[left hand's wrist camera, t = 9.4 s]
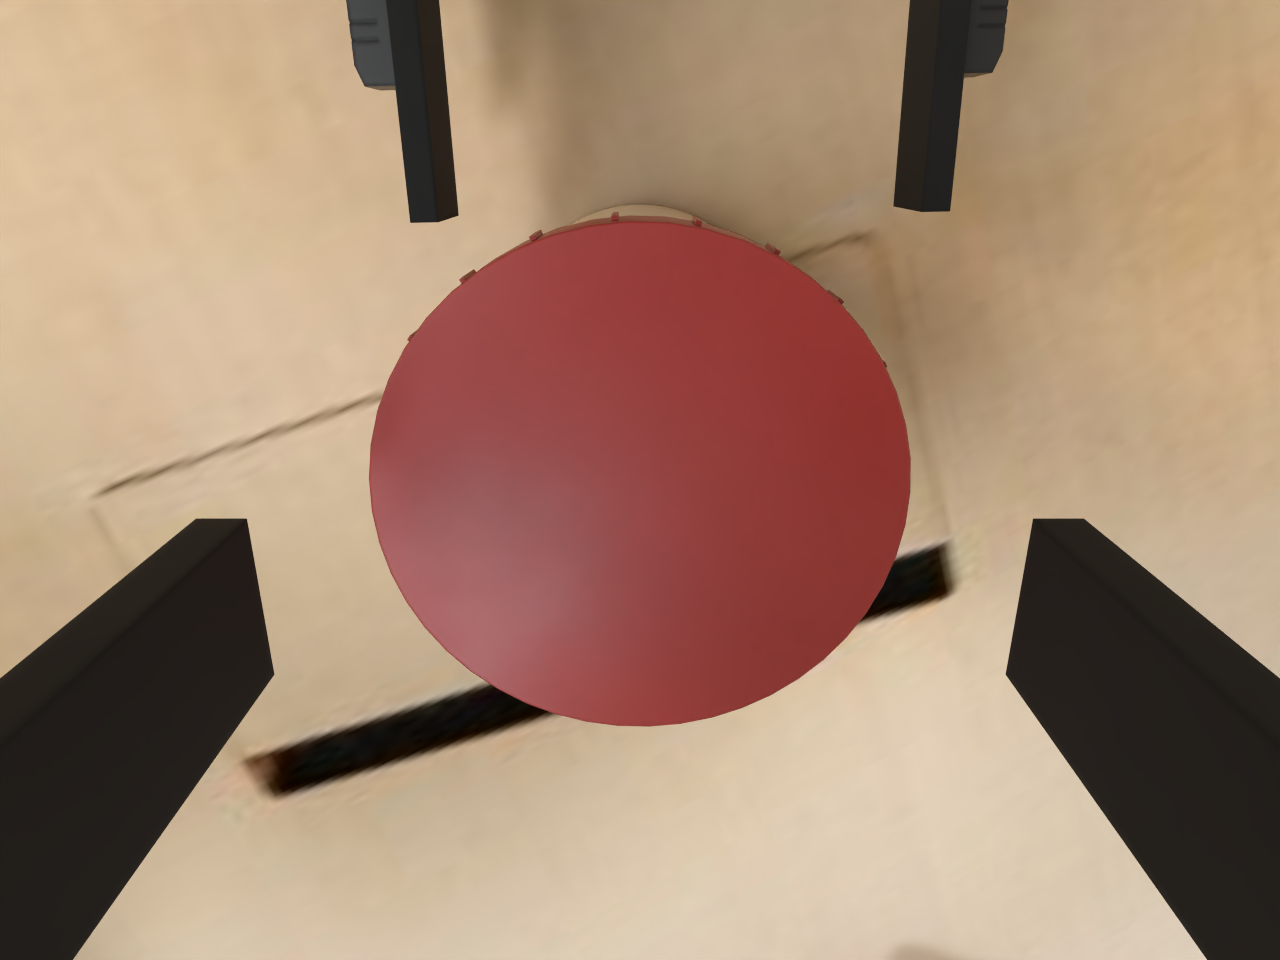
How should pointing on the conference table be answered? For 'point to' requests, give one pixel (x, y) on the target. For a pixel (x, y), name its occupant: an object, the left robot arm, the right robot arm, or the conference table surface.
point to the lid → (639, 471)
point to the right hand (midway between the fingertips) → (677, 215)
